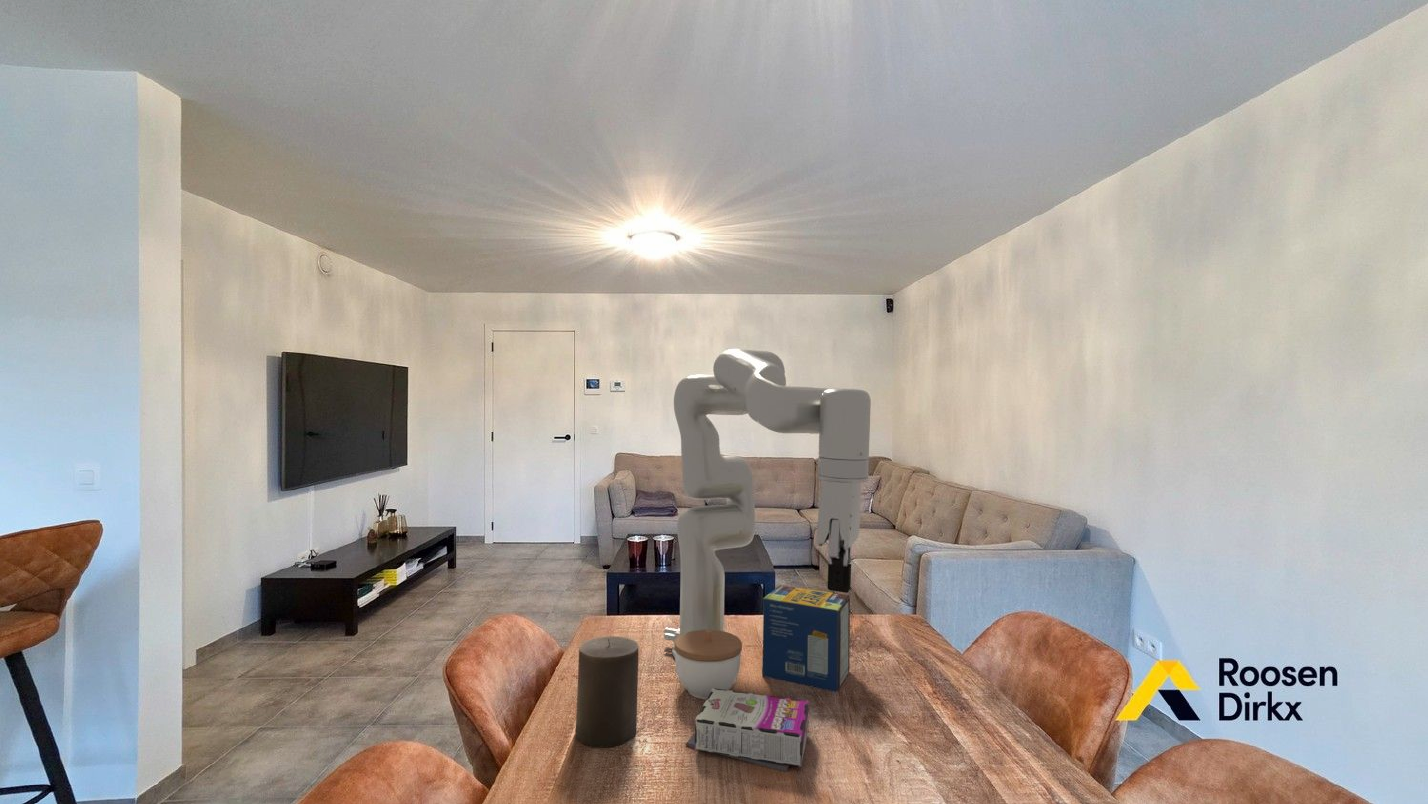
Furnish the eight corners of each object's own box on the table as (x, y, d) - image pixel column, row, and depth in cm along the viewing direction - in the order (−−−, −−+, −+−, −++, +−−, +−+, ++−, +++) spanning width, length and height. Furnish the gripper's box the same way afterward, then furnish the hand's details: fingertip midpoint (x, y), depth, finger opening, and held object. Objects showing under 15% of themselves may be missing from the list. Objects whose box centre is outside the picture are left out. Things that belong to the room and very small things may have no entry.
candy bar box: (809, 731, 96) (711, 715, 101) (810, 699, 96) (712, 685, 101) (801, 770, 86) (692, 750, 90) (802, 735, 86) (693, 717, 90)
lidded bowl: (747, 704, 106) (748, 642, 106) (677, 709, 104) (678, 645, 104) (733, 674, 118) (734, 618, 118) (670, 677, 116) (671, 620, 116)
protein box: (777, 657, 127) (779, 584, 127) (850, 671, 120) (851, 594, 121) (760, 676, 117) (761, 597, 118) (838, 693, 111) (839, 609, 111)
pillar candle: (610, 754, 89) (614, 653, 90) (562, 736, 94) (566, 640, 95) (648, 726, 98) (651, 634, 98) (602, 711, 103) (605, 623, 103)
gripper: (828, 463, 99) (825, 573, 99) (806, 472, 85) (802, 600, 85) (875, 467, 96) (871, 580, 96) (859, 477, 82) (855, 609, 82)
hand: (838, 589), depth 90 cm, fingers closed
